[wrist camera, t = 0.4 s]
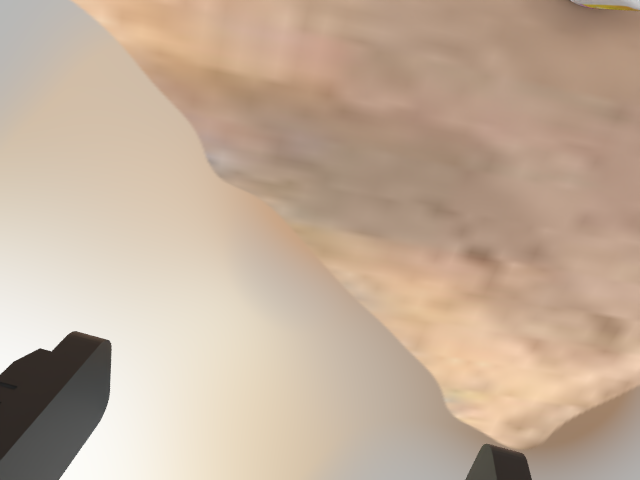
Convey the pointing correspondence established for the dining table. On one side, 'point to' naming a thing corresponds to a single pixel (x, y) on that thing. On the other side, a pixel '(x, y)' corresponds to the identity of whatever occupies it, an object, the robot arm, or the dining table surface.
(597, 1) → the supplement bottle
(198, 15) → the dining table surface
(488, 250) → the dining table surface
